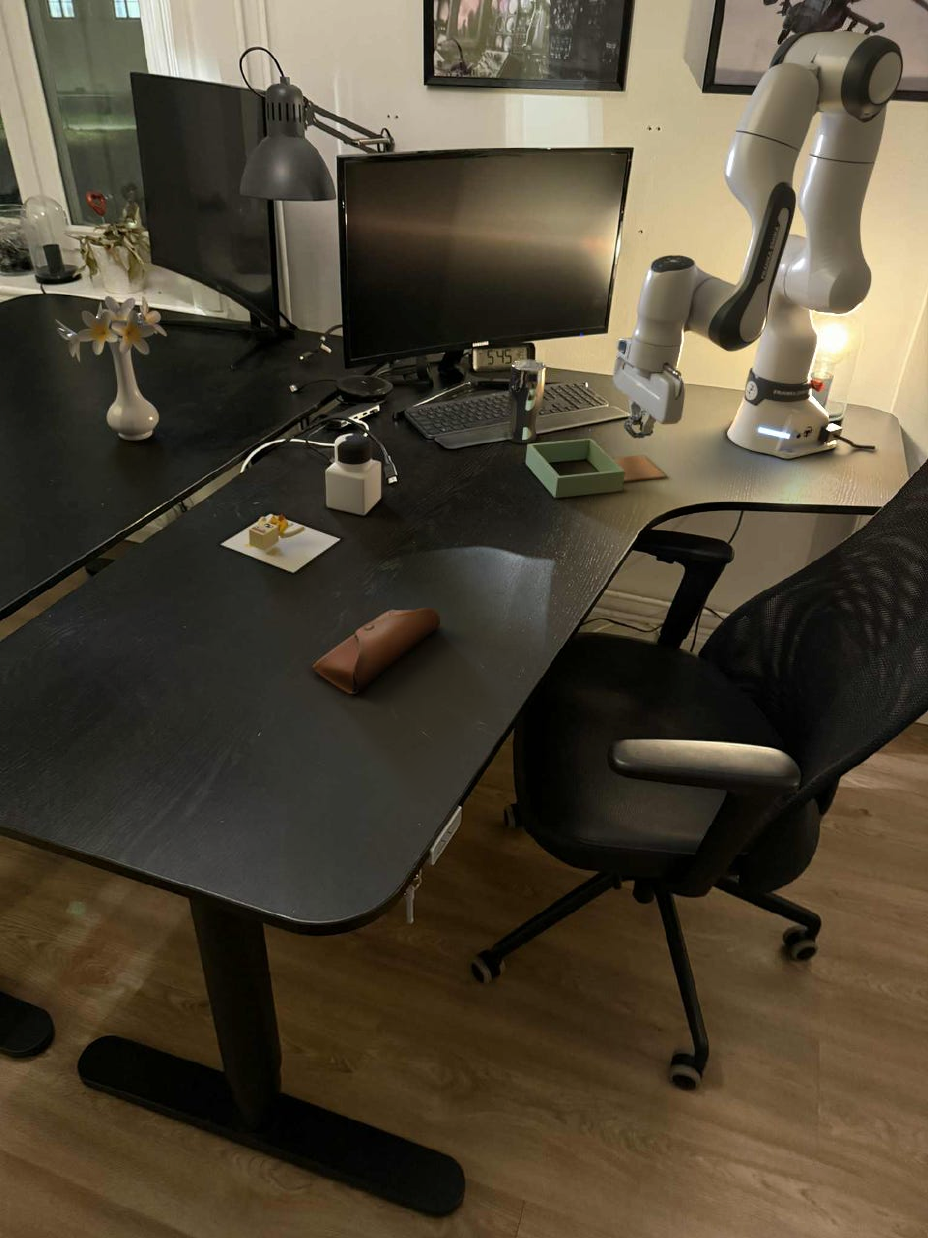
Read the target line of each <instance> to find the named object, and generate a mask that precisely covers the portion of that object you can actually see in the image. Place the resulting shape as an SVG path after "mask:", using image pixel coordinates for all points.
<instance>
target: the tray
mask: <svg viewBox="0 0 928 1238" xmlns="http://www.w3.org/2000/svg"><path fill="white" fill-rule="evenodd" d="M526 444H527V445H526V453H525V465H526V466H527V468H529V469H530V470H531V472H532V474H533V475H535V476H536V478H537V479H538V480H539V481H540V482H541V483H542V485H543V486H544V487H545V488H546V490H548V492H549V493H550V494H551V495H552V496H553V497H554V498H555V499H559V498H569V497H578V496H587V495H597V494H605V493H614V492H622V491H623V487H624V486H623V485H624V482H623V481H624V476H625V470H624V469H623V468H622V467H620V466H619V465H618V464H617V463H616V462H615V461H614V460H613V458H612V457H611V456H610V455H609V454H608V453H607V452H606V451H605V450H604V449H603V448H602V447H601V446H600V445H599V444H598V443H597V442H596V441H595V440H594V439H593V438H582V439H580V438H579V439H571V440H559V441H548V442H536V443H535V442H534V443H526ZM579 460H580V461H581V460H587V461H588V462H589V463H590V464H591V465H592V466H593V467H594V468H595V469H596V470H597V471H595V472H586V473H585V472H584V473H576V474H565V475H560V474H558V473H557V471H556V470H555V469H554V468H553V466H551V465H550V464H551V463H558V462H560V463H561V462H570V461H579Z"/></svg>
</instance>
